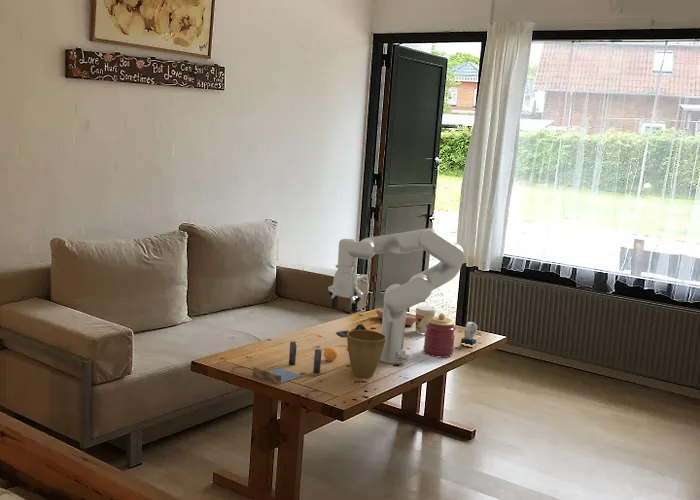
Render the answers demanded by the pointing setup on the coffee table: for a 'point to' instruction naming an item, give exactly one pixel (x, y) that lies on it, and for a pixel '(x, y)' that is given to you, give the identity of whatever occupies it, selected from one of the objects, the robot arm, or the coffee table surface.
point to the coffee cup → (423, 317)
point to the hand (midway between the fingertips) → (344, 309)
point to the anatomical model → (409, 317)
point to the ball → (330, 354)
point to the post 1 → (292, 353)
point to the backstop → (267, 375)
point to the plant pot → (365, 351)
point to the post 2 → (317, 361)
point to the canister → (439, 336)
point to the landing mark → (285, 374)
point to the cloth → (344, 333)
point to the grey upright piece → (469, 333)
